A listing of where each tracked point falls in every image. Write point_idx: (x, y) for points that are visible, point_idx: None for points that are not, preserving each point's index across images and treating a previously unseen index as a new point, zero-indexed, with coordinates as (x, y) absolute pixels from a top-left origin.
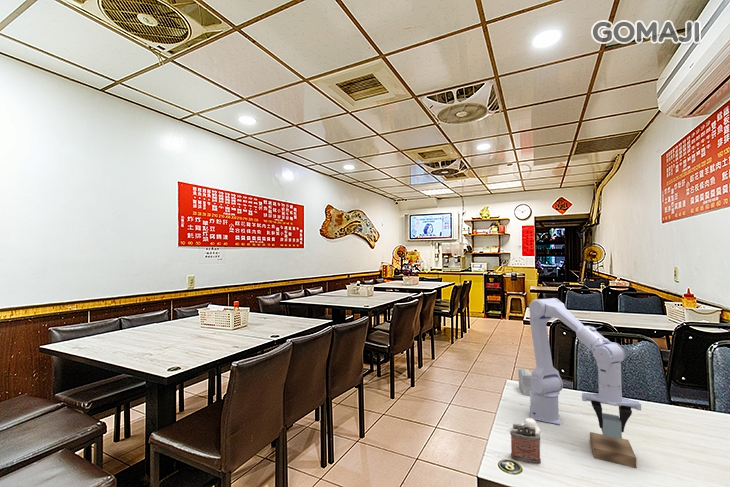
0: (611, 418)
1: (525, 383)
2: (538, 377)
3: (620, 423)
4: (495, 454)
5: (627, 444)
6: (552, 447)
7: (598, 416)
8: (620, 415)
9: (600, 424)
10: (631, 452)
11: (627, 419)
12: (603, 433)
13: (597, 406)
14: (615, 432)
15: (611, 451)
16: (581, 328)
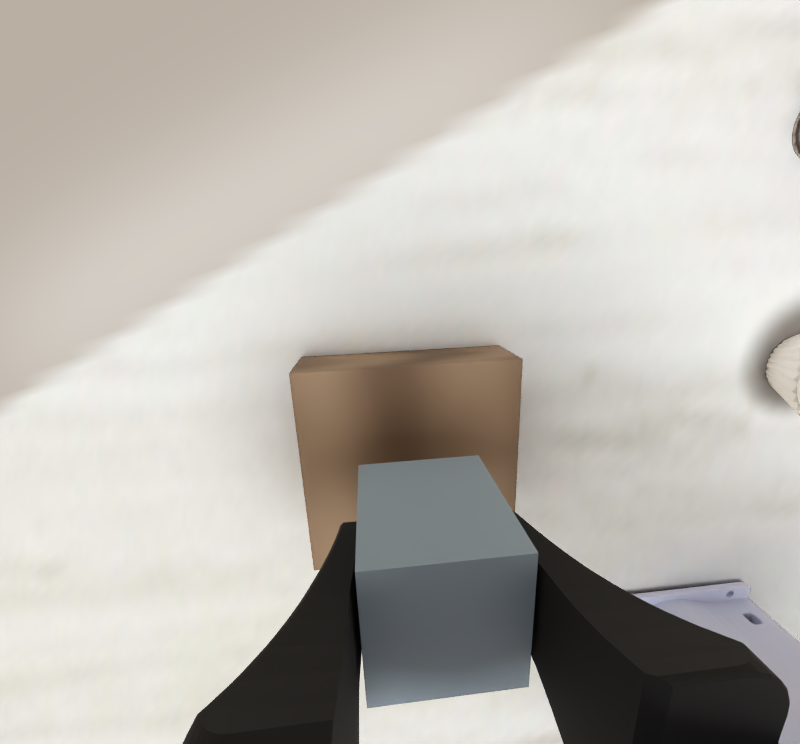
0: (445, 611)
1: None
2: None
3: (364, 557)
4: None
5: (323, 510)
6: (692, 344)
7: (583, 574)
8: (352, 691)
9: (522, 522)
10: (310, 422)
11: (280, 630)
12: (483, 463)
13: (722, 701)
14: (403, 488)
15: (424, 370)
16: None
